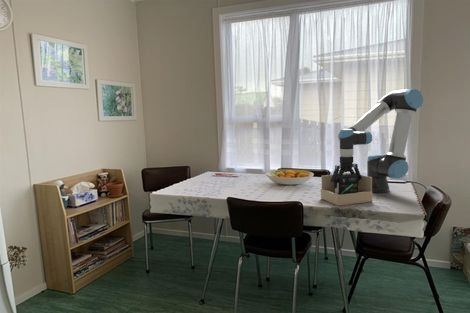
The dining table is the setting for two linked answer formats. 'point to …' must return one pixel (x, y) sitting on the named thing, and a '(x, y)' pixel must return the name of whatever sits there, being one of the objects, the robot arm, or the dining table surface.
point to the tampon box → (348, 183)
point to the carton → (346, 199)
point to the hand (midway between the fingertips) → (346, 192)
